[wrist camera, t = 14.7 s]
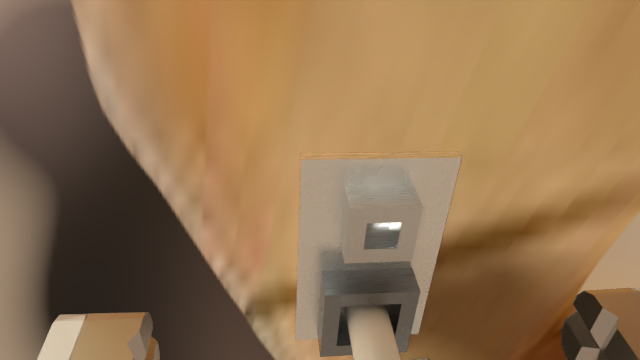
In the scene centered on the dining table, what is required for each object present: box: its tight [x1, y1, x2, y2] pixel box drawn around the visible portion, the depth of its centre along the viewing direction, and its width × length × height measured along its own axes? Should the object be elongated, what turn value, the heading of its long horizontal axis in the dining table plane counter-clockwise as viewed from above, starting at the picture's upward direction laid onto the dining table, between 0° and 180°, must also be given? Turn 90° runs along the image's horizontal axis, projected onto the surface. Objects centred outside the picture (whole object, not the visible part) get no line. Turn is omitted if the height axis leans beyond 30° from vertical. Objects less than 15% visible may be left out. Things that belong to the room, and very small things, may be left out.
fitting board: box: [295, 151, 462, 357], centre depth 45 cm, size 13×22×4 cm, turn 177°
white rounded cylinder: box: [344, 304, 401, 360], centre depth 46 cm, size 4×4×8 cm
